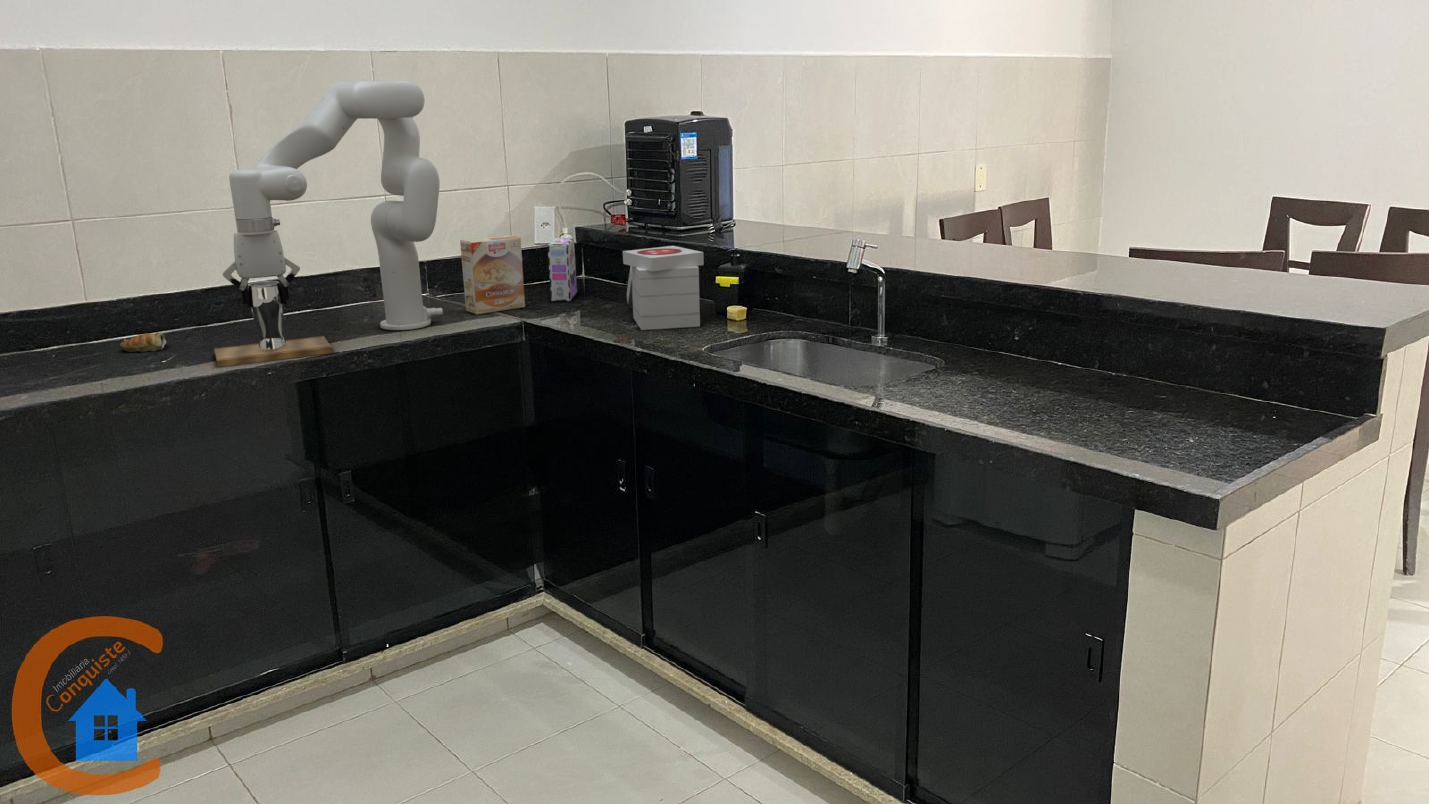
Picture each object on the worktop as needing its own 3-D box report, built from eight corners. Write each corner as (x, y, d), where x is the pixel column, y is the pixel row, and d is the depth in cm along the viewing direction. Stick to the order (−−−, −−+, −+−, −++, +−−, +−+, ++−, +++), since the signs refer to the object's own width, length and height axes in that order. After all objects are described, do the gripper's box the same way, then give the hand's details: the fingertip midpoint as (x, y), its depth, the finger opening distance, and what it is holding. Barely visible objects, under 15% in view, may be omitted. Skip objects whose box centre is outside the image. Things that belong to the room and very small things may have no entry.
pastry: (118, 354, 238) (115, 338, 237) (124, 348, 244) (122, 332, 243) (163, 350, 241) (160, 334, 240) (168, 344, 247) (165, 329, 246)
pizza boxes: (687, 304, 282) (685, 239, 277) (709, 327, 254) (707, 255, 249) (618, 308, 278) (615, 242, 273) (632, 332, 250) (629, 259, 245)
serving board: (324, 341, 246) (323, 335, 246) (332, 353, 235) (331, 346, 235) (215, 354, 236) (214, 348, 235) (218, 367, 225) (216, 360, 224)
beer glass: (277, 352, 231) (267, 286, 227) (250, 351, 232) (240, 286, 228) (295, 344, 237) (286, 280, 233) (268, 343, 239) (259, 280, 234)
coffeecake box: (476, 315, 274) (470, 242, 268) (465, 311, 279) (458, 239, 273) (526, 307, 283) (521, 236, 277) (514, 303, 288) (508, 234, 282)
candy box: (571, 301, 289) (567, 243, 284) (550, 302, 289) (546, 243, 284) (577, 292, 302) (574, 236, 297) (558, 292, 302) (554, 237, 297)
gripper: (294, 221, 234) (305, 298, 239) (211, 227, 226) (223, 306, 231) (298, 225, 227) (309, 303, 233) (212, 231, 220) (225, 312, 225)
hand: (266, 304), depth 232 cm, fingers closed on beer glass, 7 cm apart
